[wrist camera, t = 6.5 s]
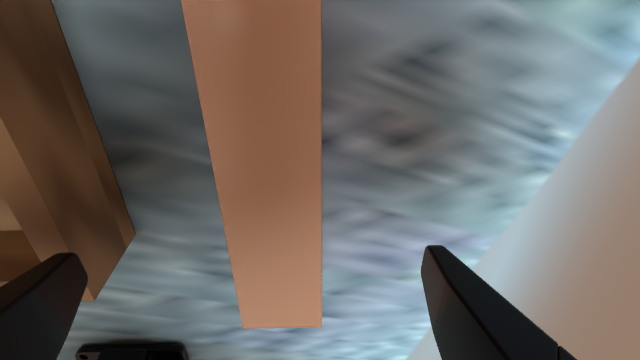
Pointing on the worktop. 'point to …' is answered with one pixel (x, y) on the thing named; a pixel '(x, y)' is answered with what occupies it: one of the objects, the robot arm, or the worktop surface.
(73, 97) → the wooden open tray
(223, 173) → the clay strip
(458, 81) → the worktop surface
